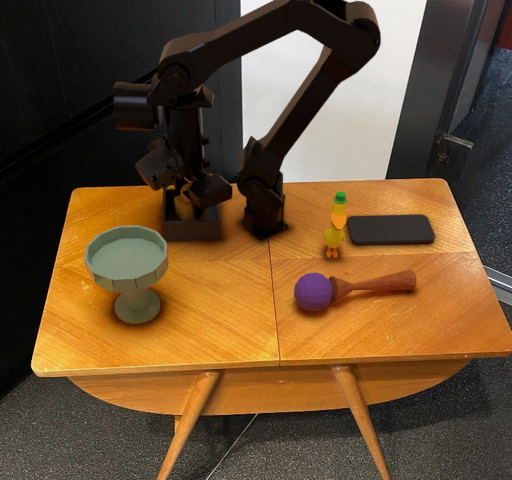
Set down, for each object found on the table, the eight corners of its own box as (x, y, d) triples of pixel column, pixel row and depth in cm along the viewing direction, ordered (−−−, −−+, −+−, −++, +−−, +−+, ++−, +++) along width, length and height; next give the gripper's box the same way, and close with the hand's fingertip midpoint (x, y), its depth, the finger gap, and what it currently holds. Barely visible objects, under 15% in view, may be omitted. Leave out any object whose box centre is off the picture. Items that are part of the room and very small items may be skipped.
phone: (346, 215, 101) (426, 213, 101) (345, 219, 101) (425, 217, 102) (353, 242, 96) (437, 239, 96) (352, 245, 96) (435, 243, 97)
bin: (218, 204, 103) (217, 186, 100) (221, 239, 97) (220, 221, 94) (165, 206, 102) (162, 188, 99) (164, 241, 96) (161, 223, 93)
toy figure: (342, 268, 93) (354, 210, 83) (321, 267, 93) (330, 209, 83) (340, 242, 97) (351, 184, 88) (320, 241, 97) (328, 183, 88)
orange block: (196, 204, 100) (194, 175, 95) (208, 216, 98) (206, 186, 93) (175, 213, 98) (172, 183, 94) (186, 224, 96) (184, 195, 92)
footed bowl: (152, 272, 91) (143, 216, 82) (187, 314, 85) (181, 258, 76) (88, 300, 87) (71, 243, 78) (121, 346, 81) (106, 290, 72)
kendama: (425, 283, 85) (304, 299, 80) (410, 304, 90) (296, 320, 85) (411, 253, 88) (293, 266, 83) (397, 276, 93) (286, 289, 88)
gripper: (111, 118, 88) (127, 200, 100) (169, 174, 78) (178, 257, 90) (172, 100, 92) (180, 180, 104) (234, 151, 82) (234, 233, 94)
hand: (191, 211), depth 98 cm, fingers closed on orange block, 4 cm apart
